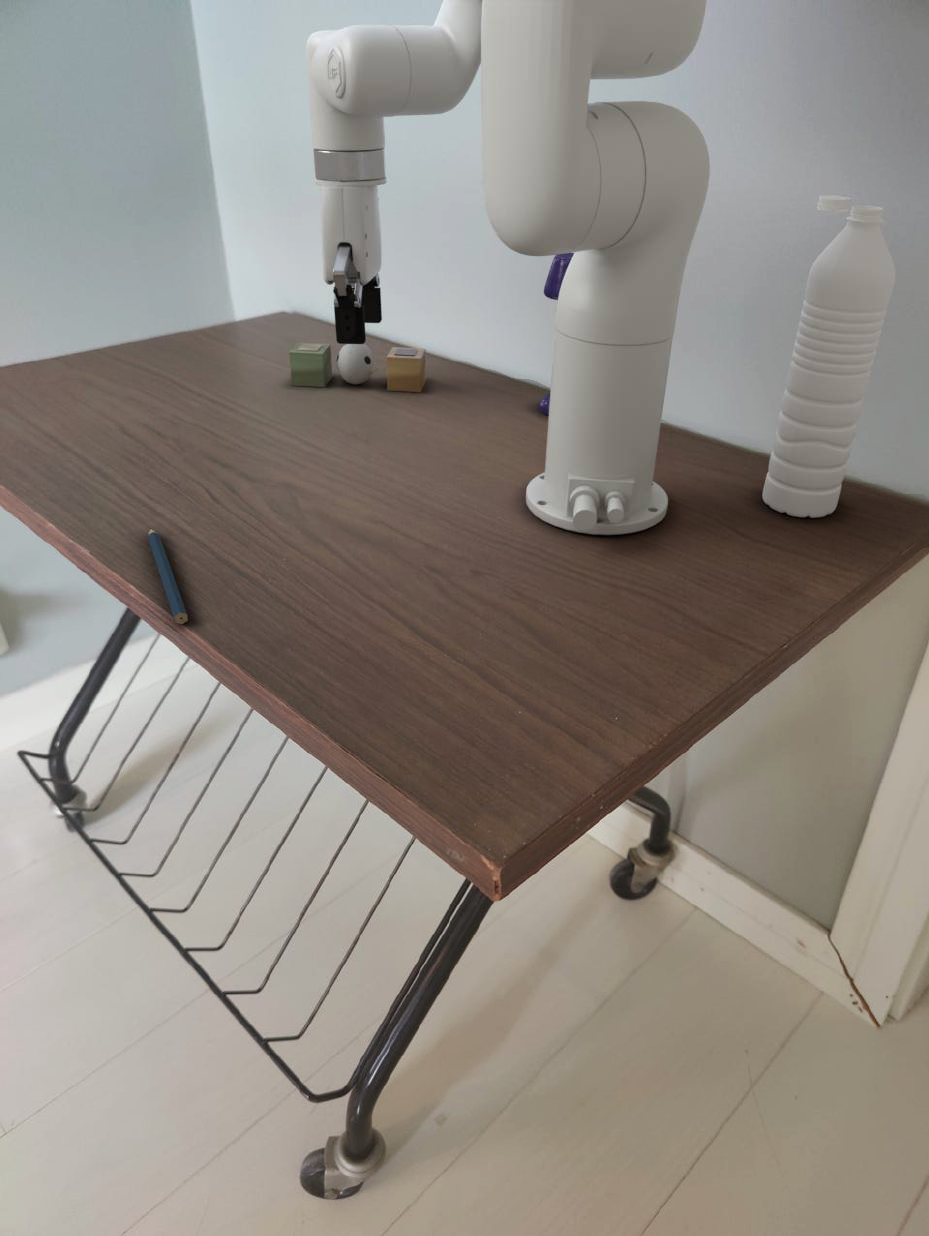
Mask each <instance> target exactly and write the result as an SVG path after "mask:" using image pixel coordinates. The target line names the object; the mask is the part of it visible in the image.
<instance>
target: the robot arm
mask: <svg viewBox="0 0 929 1236" xmlns="http://www.w3.org/2000/svg"><path fill="white" fill-rule="evenodd" d="M706 7H707V0H443V1H442V3H441V6H440V9H439V11H438V13H437V17H436V18H435V20H434V23H433V25H416V24H415V25H411V24H409V25H408V24H407V25H406V24H354V25H349V26H345V27H342V28H341V29H326V30H324V29H323V30H318V31H315V32H312V33H310V35H309V36H308V38H307V41H306V45H305V61H306V73H307V85H308V98H309V111H310V122H311V123H310V124H311V138H312V148H313V151H312V152H313V161H314V162H313V164H314V175H315V184H316V185H317V186H321V201H320V202H321V203H320V204H321V207H320V208H321V209H320V211H321V215H320V216H321V221H320V223H321V224H320V225H321V250H322V251H321V254H322V275H323V281H324V283H325V284H327V285H330V286H331V285H333V284H334V286H333V290H332V291H333V313H334V325H335V338H336V343H337V344H339V345H346V344H365V343H366V341H367V336H366V324H380V323H381V322H382V321H383V315H382V292H381V287H380V285H381V283H380V282H381V279H380V275H379V272H380V271H381V270H382V269H381V268H382V258H383V257H382V255H383V254H382V252H383V251H382V230H381V229H382V227H381V214H380V213H381V212H380V198H379V190H378V186H380V185H386V184H387V163H386V162H387V160H386V139H385V138H386V136H385V135H386V134H385V133H386V132H385V118H391V117H403V116H404V117H406V116H434V115H442V114H445V113H448V112H450V111H452V110H454V108H457V106H458V105H459V104H460V103H461V102H462V100H463V99H464V98H465V96H466V95H467V93H468V92H469V90H470V89H471V86H472V84H473V82H474V81H475V78H476V76H477V73H478V71H479V69H480V89H481V90H480V121H481V122H480V125H481V126H480V137H481V138H480V139H481V140H480V145H481V146H480V147H481V148H480V150H481V158H480V159H481V185H482V194H483V200H484V205H485V210H486V213H487V216H488V220H489V222H490V225H491V227H492V229H493V231H494V233H495V234H496V236H497V237H498V239H499V240H500V242H502V244H504V245H505V246H506V247H507V248H508V249H510V250H512V251H513V252H515V253H517V254H520V255H523V256H529V257H547V256H548V257H549V256H555V255H558V254H565V253H574V255H573V257H572V259H571V261H570V264H569V266H568V268H567V270H566V273H565V276H564V278H563V281H562V285H561V288H560V292H559V297H558V300H557V301H558V302H556V309H555V322H554V323H555V325H554V333H553V334H554V335H553V349H552V351H553V352H552V364H551V378H550V390H549V391H550V392H549V393H550V405H549V415H548V420H547V421H548V422H547V435H546V448H545V449H546V450H545V464H544V472H542V473H540V474H539V475H536V476H535V477H534V478H532V479H531V480H530V481H529V482H528V485H527V486H526V491H525V503H526V506H527V508H528V509H529V510H530V512H531V513H532V514H533V515H534V516H535V517H536V518H539V519H540V520H542V521H543V522H544V523H547V524H549V525H552V526H554V527H557V528H560V529H562V530H566V531H570V532H574V533H578V534H579V533H580V534H586V535H595V536H597V535H598V536H616V535H627V534H634V533H638V532H642V531H645V530H647V529H650V528H652V527H654V526H655V525H657V524H659V523H660V522H661V521H662V520H664V518H665V517H666V515H667V512H668V506H669V497H668V495H667V492H666V491H665V489H664V488H662V486H660V485H659V484H658V483H657V482H655V481H654V475H655V469H656V461H657V455H658V454H657V453H658V445H659V439H660V432H661V425H662V417H663V412H664V403H665V396H666V389H667V381H668V374H669V368H670V360H671V353H672V347H673V346H672V345H673V339H674V335H675V328H676V322H677V314H678V307H679V301H680V295H681V289H682V284H683V279H684V275H685V270H686V265H687V261H688V257H689V253H690V250H691V246H692V243H693V241H694V237H695V234H696V231H697V228H698V225H699V222H700V220H701V216H702V213H703V210H704V205H705V202H706V198H707V194H708V189H709V183H710V175H711V174H710V173H711V172H710V171H711V167H710V163H711V162H710V154H709V150H708V149H709V148H708V145H707V142H706V139H705V137H704V135H703V133H702V131H701V129H700V127H699V126H698V124H697V123H696V122H695V121H694V120H693V119H692V118H691V117H690V116H689V115H688V114H687V113H685V112H683V111H682V110H680V109H679V108H677V107H674V106H673V105H669V104H665V103H662V102H656V101H646V100H628V101H597V102H590V103H589V95H590V94H589V93H590V86H591V85H590V84H591V80H592V81H593V80H635V79H645V78H651V77H657V76H662V75H665V74H666V73H669V72H672V71H673V70H675V69H677V68H678V67H680V66H681V65H682V64H683V63H685V62H686V60H687V59H688V58H689V56H690V55H691V54H692V53H693V51H694V49H695V47H696V45H697V43H698V41H699V38H700V35H701V32H702V29H703V24H704V19H705V14H706Z"/></svg>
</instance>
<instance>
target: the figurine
mask: <svg viewBox="0 0 929 1236" xmlns="http://www.w3.org/2000/svg"><path fill="white" fill-rule="evenodd" d="M375 361H376V360H375V357H374V354H373V352H372V350H371V348H370V347H368V346H367V345H366V344H365V343H364V344H344V345H343V346H342V347H341V348H340V350H339V352H338V354H337V357H336V368H337V371H338V373H339V376H340V377H341V378H342V379H343V380H344V381H345V382H347V383H349V384H351V385H360V384H363V383H365V382H366V381H368V380H370V378H371V376H372V375H373V373H375V372H378V371H379V368H378V366H377V364H376V362H375Z"/></svg>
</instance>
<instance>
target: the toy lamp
mask: <svg viewBox="0 0 929 1236" xmlns="http://www.w3.org/2000/svg"><path fill="white" fill-rule="evenodd" d="M574 253H575V252H572V253H565V254H558V255H554V257H553V259H552V262H551V265H550V268H549V270H548V274H547V278H546V280H545V284H544V288H543V295H544V296H545V297H546V298H548V299H550V300H554V301H557V302H558V297H559V292H560V288H561V285H562V281H563V278H564V276H565V273H566V270H567V268H568V266H569V264H570V261H571V259H572V257H573V255H574ZM557 302H556V303H557ZM549 405H550V392H549V393H547V394H545V395H544V396H543V397H542V398H541V399H540V401H539V404H538V406H537V407H538V411H539V412H540V413H541V414H544V415H546V416H549Z"/></svg>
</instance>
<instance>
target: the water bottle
mask: <svg viewBox="0 0 929 1236" xmlns="http://www.w3.org/2000/svg"><path fill="white" fill-rule="evenodd" d="M851 202H852V198H851V197H848V196H844V195H843V196H842V195H831V194H827V195H819V197H818V200H817V205H816V210H818V211H820V212H821V211H822V212H827V213H847V212H849V211H850V212H849V216H847V217H846V218H845V219H846V220H847V222H846V225H845V226H844V227H843V228H842V230H841V231H840V232H839V233H838V234H837V235H836V236H835V237H834V239H832V240H831V242H830V243H829V244H828V245H827V246H826V247H825V248H824V249H823V250H822V252H820V254H819V255H818V256H817V257H816V259H815V260H814V261H813V263H812V265H811V267H810V270H809V271H808V272H809V273H808V276H807V280H806V285H805V292H804V300H803V303H802V308H801V309H802V310H801V312H800V315H799V318H800V320H799V322H798V325H797V329H798V330H797V331H796V335H795V341H794V344H793V351H792V354H791V360H790V363H789V367H788V371H787V375H786V380H785V386H786V388H785V389H784V392H783V395H782V399H781V405H780V406H781V407H780V408H781V411H780V412H779V414H778V419H777V425H776V426H777V427H776V429H775V430H776V431H775V433H774V437H773V442H772V443H773V444H772V451H771V453H770V457H769V462H768V468H767V469H768V472H767V473H766V475H765V481H764V484H763V488H762V501H763V502H764V504H765V505H767V506H769V508H770V509H772V510H774V511H776V512H778V513H780V514H784V513H786V515H788V516H792V517H796V518H797V517H798V518H807V517H809V518H811V519H814V518H815V519H816V518H823V517H826V516H827V515H831V514H833V513H834V511H836V508H837V506H838V503H839V500H840V495H841V491H842V483H843V481H844V478H845V476H846V472H847V465H848V463H847V462H848V460H849V459H850V455H851V452H852V447H853V442H854V439H855V437H856V433H857V428H858V420H859V419H860V416H861V414H862V409H863V406H864V397H865V396H866V393H867V392H868V387H869V383H870V379H871V374H872V368H873V366H874V363H875V362H874V359H875V357H876V354H877V349H878V346H879V343H880V341H879V340H880V337H881V334H882V329H883V326H884V323H885V318H886V315H887V312H888V309H887V308H888V306H889V304H890V300H891V297H892V294H893V291H894V286H895V283H896V267H895V263H894V261H893V257H892V255H891V252H890V250H889V248H888V245H887V242H886V240H885V236H884V234H883V232H882V229H881V225H882V223H883V222H884V221H885V220H884V219H882V217H883V213H884V208H883V207H880V206H876V205H867V204H864V205H863V204H862V205H861V204H858V205H852V206H851ZM850 207H851V208H850ZM850 209H851V210H850Z"/></svg>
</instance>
